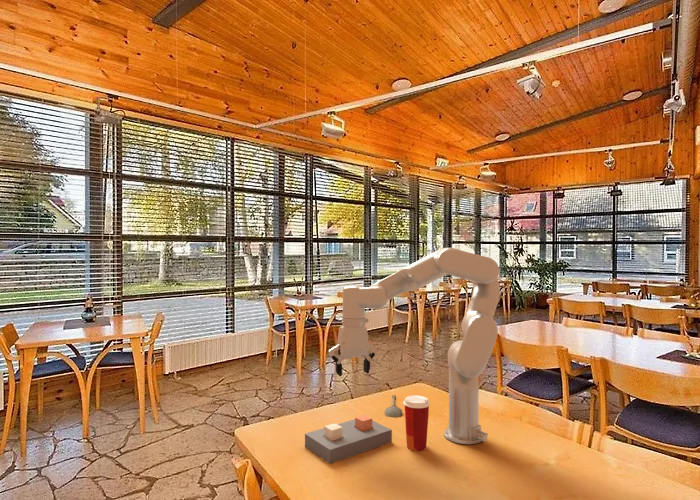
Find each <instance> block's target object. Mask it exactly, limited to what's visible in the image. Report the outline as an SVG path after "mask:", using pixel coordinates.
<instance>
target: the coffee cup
mask: <svg viewBox="0 0 700 500" xmlns="http://www.w3.org/2000/svg"><path fill="white" fill-rule="evenodd" d="M402 403H403V406H404V420H405V438H406V439H405V440H406V447H407V448H408V449H409V450H410V451H414V452H422V451H425V450H426V449H427V442H428V425H429V407H430V406H431V403H430V401H429V399H428V398H427V397H426V396H424V395H423V396H422V395H408V396H406V397H405V398H404V401H402Z"/></svg>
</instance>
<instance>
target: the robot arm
mask: <svg viewBox="0 0 700 500" xmlns="http://www.w3.org/2000/svg"><path fill="white" fill-rule="evenodd" d="M446 275H450V276H453V277H456V278H458V279H459V278H460V279H463V280H466V281H471V283H472V293H471V297H470V300H469V303H468V306H467V309H466V311H465V314H464V316H463V319H462V321H461V325H460V326H461V330H462V332H463V335H464V336H463V339H462V340H461V339H459V340H456V341H454V342H453V343H452V344H451V345H450V346H449V349H448V351H447V364H448V427H446V428H445V429H444V431H443V435H444V437H445V438H446V439H447V440H448V441H450V442H453V443H457V444H461V445H474V444H475V445H476V444H479V443H481V442H486V441H487V438H488V436H489V434H488V432H485V431H482V425H481V424H479V404H480V403H479V391H480V389H479V388H480V387H479V381H480V380H479V376H480V375H481V374H482V373H483V372H484V370H485V369H486V368H487V367H486V366H488V365H487V364H488V363H489V361H490V357H491V356H492V353H493V350H494V347H495V344H496V342H497V339H498V333H499V328H498V325H497V322H496V321H495V319H494V315H495V313H496V311H497V310H496V309H497V306H498V303H499V300H500V295H501V293H500V292H501V291H500V290H501V289H500V288H501V287H500V283H499V280H498V277H499V275H500V267H499V265H498V263H497V262H496V260H494V259H493V258H491V257H488V256H485V255H480V254H477V253H472V252H468V251H464V250H461V249H457V248H454V247H442V248H440V249H437V250H436V251H433V252H432V253H430V254H428V255H427V256H424V257H422V258H421V259H418V260H416V261H415V262H413V263H411V264H409V265H408V266H407V265H406V266H404V267H403V268H402V269H400V270H398V271H396V272H395V273H392V274H391V275H388V276H386V277H385V278H383V279H381V280H379V281H376V282H374V283H373V284H371V285H369V287H365V286H362V285H345V286H344V287H343V289H342V313H341V314H342V318H341V319H342V324H341V326H339V327H338V328H339V329H338V334H337V335H338V336H337V341H336V345H335V346H333V347H331V348H330V349H328V350H327V352H328V354H329V356H330V358H331V359H332V361H333V362H334V363H335V374H336V375H338V376H339V377H342V376H343V364H342V362H343V361H344V359H345V358H346V359H349V358H362V357H363V358H364V359H363V372H364V373H365V374H368V375H369V374H370V370H371V362H372V359H373V358H374V357H375V355H376V353H377V351H378V347H377V346H375V345H373V344H371V343H370V342H369V333H368V328H367V326H366V323H369V318H366V308H367V309H374V310H379V309H383V308H384V307H386V306H387V304H388V302H389V300H391V299H394V298H396V297H397V296H399V295H402V294H404V293H407V292H411V291H417V290H419V289H422V288H424V287H425V286H427V285H429V284H431V283H433V282H434V281H437V280H438V279H439V280H440V279H441V278H443V277H444V276H446ZM370 349H371V351H370ZM369 351H370V352H369ZM335 352H336V354H337V356H336V355H335Z"/></svg>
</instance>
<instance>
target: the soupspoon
mask: <svg viewBox="0 0 700 500" xmlns="http://www.w3.org/2000/svg"><path fill="white" fill-rule="evenodd" d="M396 398H397V395H392V396H391V399H392V404H391V405H392V406H389V407H386V408H385V410H384V414H385V416H386V417H388V418H402V416H403V410H402V408H400V407H398V406H395V405H396V404H395V399H396Z"/></svg>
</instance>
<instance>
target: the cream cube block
mask: <svg viewBox="0 0 700 500" xmlns="http://www.w3.org/2000/svg"><path fill="white" fill-rule="evenodd" d="M337 424H338V423H330V424H327V425H324V426H323V428H324V437H325V438H327V439H329V440H330V441H333V440H337V439H340V438H342V427H341V426H339V425H337Z"/></svg>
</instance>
